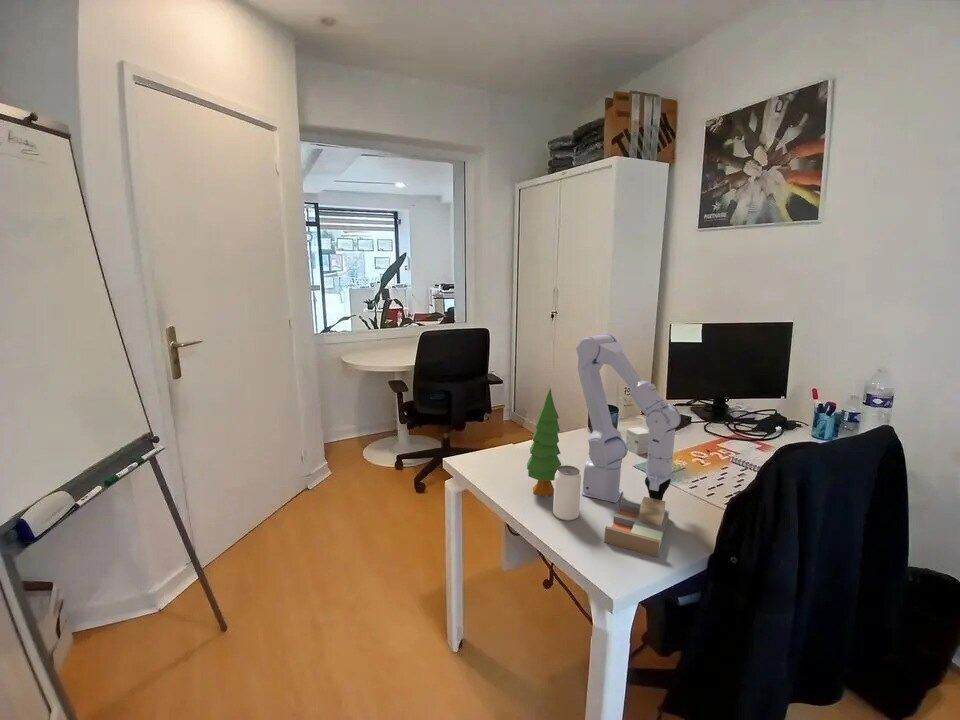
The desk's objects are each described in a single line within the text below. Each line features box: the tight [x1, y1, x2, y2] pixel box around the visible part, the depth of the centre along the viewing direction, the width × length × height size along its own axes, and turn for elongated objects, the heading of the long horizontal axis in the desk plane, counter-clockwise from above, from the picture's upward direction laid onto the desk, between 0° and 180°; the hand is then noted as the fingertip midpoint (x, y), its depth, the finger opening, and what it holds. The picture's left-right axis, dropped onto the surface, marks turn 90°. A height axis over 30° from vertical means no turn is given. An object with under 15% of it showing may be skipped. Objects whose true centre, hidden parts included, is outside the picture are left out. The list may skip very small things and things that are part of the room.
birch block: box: [639, 496, 667, 526], centre depth 113 cm, size 5×5×4 cm
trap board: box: [603, 499, 670, 558], centre depth 112 cm, size 12×18×4 cm, turn 152°
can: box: [552, 464, 582, 522], centre depth 118 cm, size 6×6×12 cm
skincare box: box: [625, 426, 650, 455], centre depth 161 cm, size 6×6×7 cm
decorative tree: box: [526, 387, 563, 497], centre depth 128 cm, size 10×9×30 cm
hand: (655, 505), depth 118 cm, fingers closed
